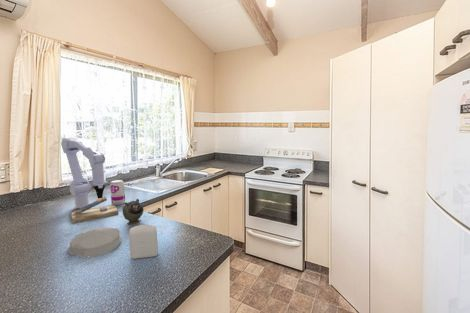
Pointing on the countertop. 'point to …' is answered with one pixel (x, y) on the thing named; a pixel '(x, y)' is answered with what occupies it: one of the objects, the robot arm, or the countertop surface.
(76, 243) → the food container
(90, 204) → the latch bar
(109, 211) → the latch board
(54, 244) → the countertop surface
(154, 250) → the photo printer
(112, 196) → the supplement can
